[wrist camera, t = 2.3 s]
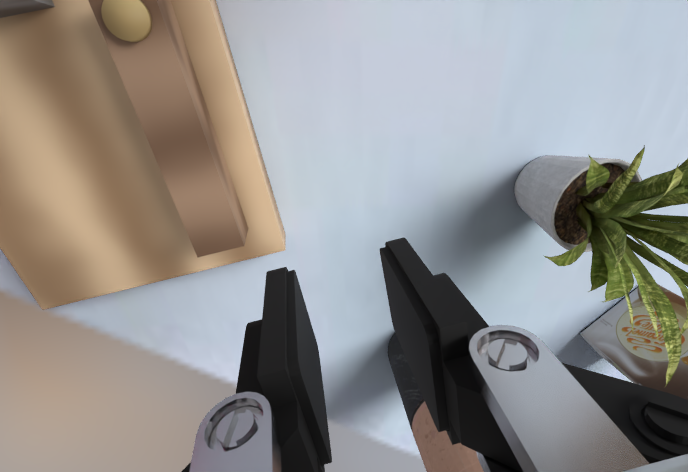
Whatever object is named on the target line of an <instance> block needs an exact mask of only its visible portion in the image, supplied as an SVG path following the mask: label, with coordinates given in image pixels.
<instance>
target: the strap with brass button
mask: <svg viewBox="0 0 688 472" xmlns="http://www.w3.org/2000/svg"><path fill="white" fill-rule="evenodd" d="M88 1H89V3H90V6H91V8H92V10H93V13H94V15H95V17H96V20H97V22H98V25H99V27H100V29H101V32H102V34H103V36H104V39H105V41H106V43H107V46H108V48H109V50H110V53H111V55H112V57H113V60H114V62H115V64H116V67H117V69H118V72H119V74H120V76H121V79H122V81H123V83H124V86H125V88H126V90H127V93H128V95H129V97H130V100H131V102H132V104H133V107H134V109H135V112H136V114H137V116H138V119H139V121H140V123H141V126H142V128H143V130H144V133H145V135H146V137H147V140H148V142H149V144H150V147H151V149H152V152H153V154H154V156H155V159H156V161H157V163H158V166H159V168H160V170H161V173H162V175H163V177H164V180H165V182H166V184H167V187H168V189H169V191H170V194H171V196H172V199H173V201H174V203H175V206H176V208H177V210H178V213H179V215H180V217H181V220H182V222H183V224H184V227H185V229H186V231H187V234H188V236H189V239H190V241H191V243H192V246H193V248H194V250H195V253H196V255H197V257H202V256H206V255H210V254H214V253H218V252H222V251H226V250H230V249H235V248H239V247H243V246H244V245H245V241H246V237H247V233H248V225H247V222H246V219H245V216H244V214H243V211H242V208H241V205H240V202H239V199H238V196H237V193H236V190H235V187H234V184H233V181H232V179H231V176H230V173H229V170H228V167H227V164H226V161H225V158H224V155H223V152H222V149H221V146H220V144H219V141H218V138H217V135H216V132H215V129H214V126H213V123H212V120H211V117H210V114H209V111H208V109H207V106H206V103H205V100H204V97H203V94H202V91H201V88H200V85H199V82H198V79H197V76H196V74H195V71H194V68H193V65H192V62H191V59H190V56H189V53H188V50H187V47H186V44H185V41H184V38H183V36H182V33H181V30H180V27H179V24H178V21H177V18H176V15H175V12H174V9H173V6H172V3H171V1H170V0H88Z"/></svg>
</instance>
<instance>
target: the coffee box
mask: <svg viewBox="0 0 688 472" xmlns="http://www.w3.org/2000/svg"><path fill="white" fill-rule="evenodd" d="M657 285H658V284H657ZM658 286H659V287H660V289H661V290H662V291H663V292H664V294H665V295H666V296H667V297H668V299H669V301H670V303H671V305H672V307H673V309H674V312H675V314H676V317H677V321H678V324H679V329H680V332H681V329H682V327H683V325H684V323H685V321H686V318H687V307H686V303H685V299H684V298H682V297H680V296H678V295H676V294H675V293H673V292H671V291H669V290H667V289H665V288H664V287H662V286H660V285H658ZM629 297H630V301H631V305H632V310H633V331H632V325H631V319H630V313H629V308H628V304H627V300H626V297H625V298H624V299H623V300H621V301H620V302H619V303H618V304H617V305H615V306H614V307H613V308H612V309H610V310H609V311H608V312H607V313H605V314H604V315H603V316H601V317H600V318H599V319H598V320H596V321H595V322H594V323H593V324H591V325H590V326H589V327H588V328H586V329H585V330H584V331H582V332H581V334H580V335H581V336H582V337H583V338H584V339H585V340H586V341H587V343H588V344H589V345H590V346H591V347H592V348H593V349H594V350H595V351H596V352H597V353H598V354H599V355H600V356H601V357H603V358H604V359H605V360H607V361H608V362H609V363H610V364H612V365H613V366H614V367H615V368H616V369H618V370H619V371H620V372H621V373H622V374H623V375H625V376H626V377H627V378H628V379H629V380H631V381H632V382H633V383H635V384H638V385H642V386H645V387H649V388H653V389H656V390H660V391H663V392H667V393H670V394H673V395H676V396H679V397H681V398H684V399H687V400H688V328H687V329H686V330H685V331H684V333H683V334H682V335H681V356H680V360H679V363H678V366H677V369H676V371H675V372H674V374H673V376H672V378H671V380H670V381H669V383H668V384H667V385H666V373H667V368H668V363H669V359H668V353H667V349H666V345H665V342H664V338H663V333H662V329H661V324H660V322H659V319H658V316H657V313H656V311H655V309H654V307H653V304H652V302H651V300H650V298H649V300H650V303H651V305H652V307H653V310H654V313H655V315H656V319H657V329H658V338H657V336H656V333H655V330H654V327H653V324H652V321H651V318H650V316H649V313H648V311H647V309H646V307H645V305H644V302H643V299H642V296H641V292H640V289H639V287H638V288H636V289H635V290H634V291H633V292H632V293H630V294H629ZM648 297H649V296H648ZM658 340H659V341H658Z"/></svg>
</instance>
